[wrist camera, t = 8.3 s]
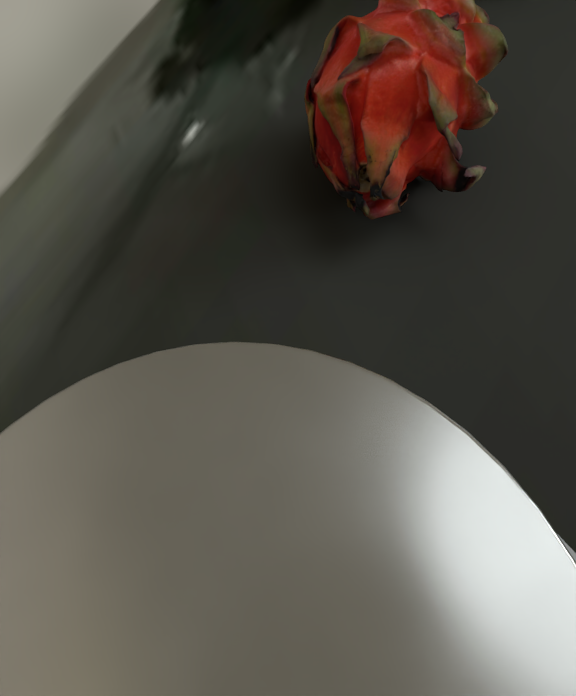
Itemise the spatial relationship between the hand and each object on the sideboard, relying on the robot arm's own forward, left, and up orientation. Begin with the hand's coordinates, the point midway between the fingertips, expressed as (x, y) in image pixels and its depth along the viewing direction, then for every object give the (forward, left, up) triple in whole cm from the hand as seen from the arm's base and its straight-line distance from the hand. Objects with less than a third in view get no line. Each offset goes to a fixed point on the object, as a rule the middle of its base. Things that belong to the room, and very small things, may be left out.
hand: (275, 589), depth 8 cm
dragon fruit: (+4, -20, -9) cm, 22 cm away
